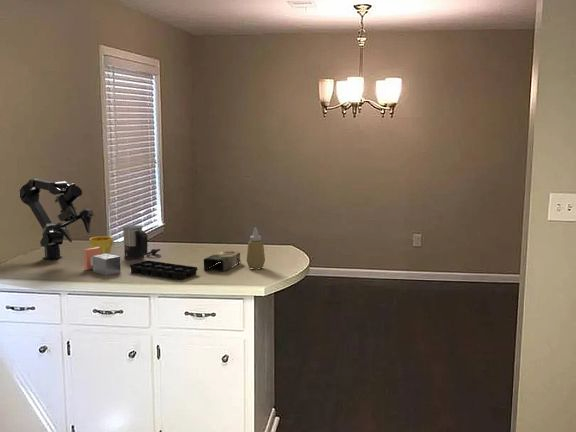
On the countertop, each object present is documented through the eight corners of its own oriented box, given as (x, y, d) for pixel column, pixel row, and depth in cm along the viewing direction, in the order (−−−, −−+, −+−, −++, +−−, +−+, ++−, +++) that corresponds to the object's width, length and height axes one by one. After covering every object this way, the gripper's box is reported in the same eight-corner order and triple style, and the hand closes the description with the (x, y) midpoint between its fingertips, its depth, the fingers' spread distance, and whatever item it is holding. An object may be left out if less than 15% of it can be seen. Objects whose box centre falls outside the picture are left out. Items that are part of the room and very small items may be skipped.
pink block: (84, 269, 295) (83, 249, 293) (98, 266, 300) (97, 247, 299) (98, 272, 288) (97, 252, 287) (112, 269, 293) (111, 250, 292)
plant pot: (107, 261, 311) (106, 240, 309) (86, 260, 313) (85, 239, 312) (117, 256, 321) (116, 236, 319) (97, 256, 323) (96, 235, 322)
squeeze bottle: (267, 267, 298) (267, 226, 296) (261, 271, 291) (260, 230, 288) (250, 266, 301) (250, 226, 298) (243, 269, 293) (243, 229, 291)
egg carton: (142, 267, 300) (142, 259, 300) (204, 272, 291) (204, 263, 290) (121, 276, 284) (120, 268, 283) (185, 282, 274) (185, 273, 274)
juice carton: (222, 261, 311) (222, 248, 310) (242, 263, 307) (241, 250, 306) (202, 272, 292) (202, 258, 291) (223, 274, 289) (223, 259, 288)
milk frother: (119, 258, 317) (118, 227, 315) (139, 252, 331) (138, 222, 329) (145, 261, 312) (144, 229, 309) (164, 254, 326) (163, 224, 324)
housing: (93, 271, 291) (92, 256, 289) (107, 269, 296) (106, 253, 295) (106, 275, 284) (105, 259, 283) (120, 272, 289) (120, 256, 288)
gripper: (40, 214, 300) (52, 245, 298) (75, 195, 298) (88, 227, 295) (53, 216, 311) (66, 247, 309) (88, 198, 309) (100, 229, 306)
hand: (79, 237), depth 304 cm, fingers open, 9 cm apart
